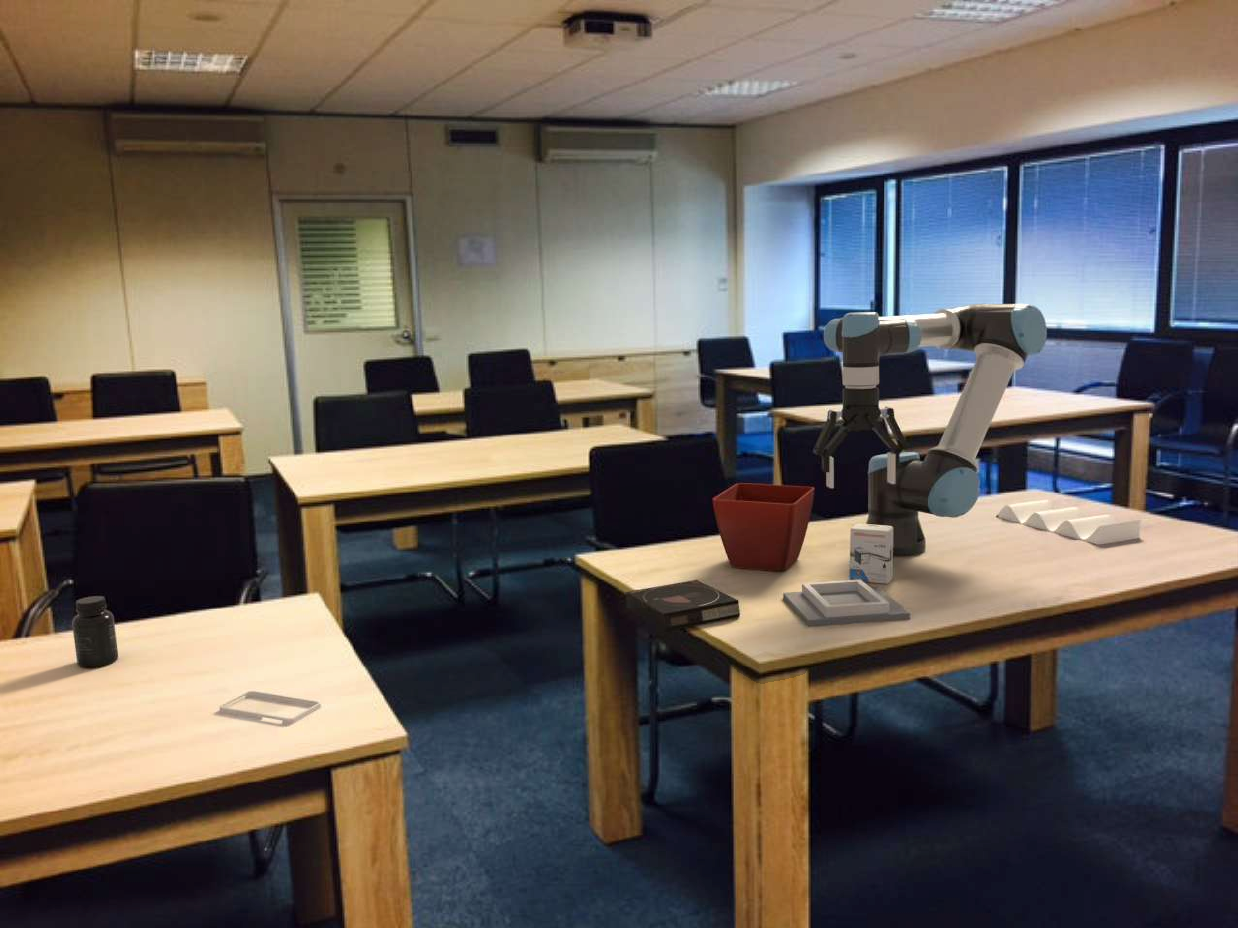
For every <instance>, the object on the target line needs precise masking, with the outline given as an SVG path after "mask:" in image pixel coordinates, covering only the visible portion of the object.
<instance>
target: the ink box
mask: <svg viewBox="0 0 1238 928" xmlns="http://www.w3.org/2000/svg"><path fill="white" fill-rule="evenodd" d="M849 538H850V539H849V541H850V542H849V543H850V545H849V546H850V547H849V580H859V579H861V580H862V581H863V582H864V583H874V584H885V585H887V584H890V582H892V580H893V579H894V577H893V573H894V572H893V571H894V570H893V569H894V568H893V567H894V566H893V564H894V563H893V562H894V555H893V527H892V526H885V525H872V524H866V523H855V524H853V525H852V526H851V527H850V537H849Z"/></svg>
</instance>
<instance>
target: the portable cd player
mask: <svg viewBox="0 0 1238 928" xmlns="http://www.w3.org/2000/svg"><path fill="white" fill-rule="evenodd" d="M625 593H626V595H625V596H626V597H625V598H626V599H625V600H626V609H627V610H628V611H630V612H632V613H633V614H635V615H637V616H638V617H640V618H642V619H643V620H644V621H646V622H648V623H649V624H651V625H653V626H654V627H655V628H658V629H659V630H661V631H663V632H664V633H666V632H672V631H677V630H682V629H688V628H692V627H698V626H703V625H708V624H713V623H718V622H724V621H729V620H734V619H739V618H740V615H741V610H740V606H739V604H740V603H739V599H737V598H735V597H733V596H730V595H729V594H727V593H725V592H723V591H720V589H719V590H718V589H716V588H715V587H713V586H710V585H709V584H706V583H705V582H702V581H700V580H698V579H693V580H687V581H683V582H675V583H670V584H664V585H658V586H653V587H647V588H640V589H636V590H635V589H634V590H628V591H626V592H625Z"/></svg>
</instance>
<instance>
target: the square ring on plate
mask: <svg viewBox="0 0 1238 928" xmlns="http://www.w3.org/2000/svg"><path fill="white" fill-rule="evenodd" d="M782 598H783V600H784V601H785V602H786V603H787V604H788V605H789V607H790V608H791V609H792V610H793V612H794V613H796V614H797V615H798V617H799V618H800V619H801V620H802V621H803V622H804V623H805V625H806V626H808V627H817V626H830V625H845V624H857V623H858V624H860V623H872V622H874V623H875V622H885V621H901V620H902V621H903V620H910V619H911V613H910V612H909V611H908V610H907V609H906V608H905V607H903V606H902V605H900V603H898V602H897V601H895V600H894V598H892V597H891V596H889V595H888V594H887V593H886V592H884V591H883V590H882V589H880V587H878V586H877V585H876V586H869V585H868V584H867V582H863V581H862V580H861V579H859V580H850V579H847V580H831V581H817V582H814V581H813V582H803V583H801V591H793V592H792V591H790V592H789V591H788V592H787V591H786V592H783V593H782Z"/></svg>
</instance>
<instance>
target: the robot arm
mask: <svg viewBox="0 0 1238 928" xmlns="http://www.w3.org/2000/svg"><path fill="white" fill-rule="evenodd" d="M1047 330H1048V329H1047V323H1046V320H1045V317H1044V315H1043V313H1042V311H1041V310H1040V309H1039V308H1038V307H1037V306H1036V305H1033V304H1027V303H1020V302H1015V303H977V304H970V305H963V306H959V307H953V308H942V309H939V310H937V311H935V312H934V313H928V314H926V313H925V314H924V313H923V314H910V315H892V316H889V315H888V316H880V314H879V313H878V312H875V311H871V312H870V311H864V312H861V311H859V312H848V313H846V314H844V316H843V317H841V318H834V319H832V320H829V322H827V324H826V325H825V327H824V330H823V342H824V344H825V347H826V348H828V349H829V350H830V351H832V352H839V353H842V385H843V386H845V387H843V389H842V409H841V411H835V410H832V409H829V410H828V411H827V416H826V417H827V418H826V421H825V424H824V426H823V428H822V429H821V432H820V434H819V436H818V438H817V441H816V443H815V445H814V447H813V450H812V452H813V453H814V454H815V455H817V456H820V457H821V470H822V472H824V473H825V475H826V476H825V477H826V480H825V481H826V483H825V485H826V487H827V488H829V489H834V487H835V486H834V485H835V482H834V481H835V476H834V475H835V474H834V473H835V471H834V470H835V467H834V462H835V461H834V460H835V459H834V457H832V454H833V453H834V452H835V450H836V449H837V448H838V447H839V446H840V444H841V443H842V441H843V440H845V438H846V436H847V435H848V434H850V432H852V431H854V432H855V431H856V432H857V431H858V432H860V431H861V430H862V431H870V430H873V431H874V433H876V435H877V436H878V437H879V438H880V439H881V441H882V442H883V443H884V444H885V445H886V446H887V447H888V448H889V450H890V451H888V452H887V453H884V454H879V455H874V456H872V457H871V458H870V460H869V462H868V472H867V487H868V488H867V492H868V493H867V494H868V495H867V497H868V500H867V501H868V503H867V505H868V506H867V507H868V509H867V511H868V512H867V513H868V515H867V518H866V522H865V524H872V525H885V526H892V527H893V557H894V556H900V557H901V556H911V555H916V554H920V553H923V552H925V551H926V537H925V535H924V531H923V527H922V525H921V522H920V519H919V513H923V514H924V513H925V514H929V515H934V516H936V517H940V518H951V519H952V518H953V519H954V518H959V517H961V516H964V515H965V514H968V512H969V511H971V510H972V508H973V507H974V506H975V504H976V503H977V501H978V498H979V496H980V492H981V487H980V485H981V480H980V477H979V475H978V474H977V472H978V471H979V470H978V466H977V464H976V461H975V459H976V457H977V455H978V453H979V451H980V448H981V446H982V444H983V442H984V439H985V437H986V434H987V432H988V430H989V427H990V426H991V423H992V421H993V419H994V417H995V414H996V412H997V409H998V408H999V405H1000V404H1001V403H1000V402H1001V400H1002V399H1003V396H1004V393H1005V391H1006V389H1007V386H1008V385H1009V382H1010V380H1011V378H1012V375H1013V373H1014V372H1016V371H1017V370H1021V369H1022V368H1023V366H1024V365H1025V363H1026V360H1027V358H1028V357H1029V356H1030V357H1031V356H1036V355H1037V354H1040V353H1041V352H1042V350H1043V349H1044V347H1045V345H1046V342H1047V337H1048V331H1047ZM921 347H922V348H923V347H936V348H938V349H940V350H959V351H960V350H961V351H967V352H974V353H975V355H976V361H975V363H974V364H973V366H972V367H973V368H972V370H971V371H970V373H969V376H968V379H967V381H966V383H965V386H964V387H963V389H962V392H961V394H960V396H959V399H958V401H957V402H956V403H957V404H956V406H955V407H954V410H953V412H952V415H951V416H950V418H949V421H948V423H947V425H946V428H945V429H944V432H943V435H942V436H941V438H940V440H939V443H938V445H937V446H934V447H931V448H929V449H928V451H927V453H926V456H925V457H924V460H922V461H921V458H920V454H919V453H918V452H914V451H908V449H909V444H908V443H907V440H906V438H905V436H904V435H903V432H902V431H901V428H900V426H899V424H898V422H897V420H896V418H895V410H894V408H893V407H889V406H885V407H883V408H880V406H879V404H880V388H879V387H878V386H877V385H879V384H880V357H882V356H892V355H905V354H909V353H913V352H914V351H916V350H917V349H918V348H921ZM881 416H882V418H883V419H885V421H886V424H887V426H888V427H889V430H890V432H891V433H892V436H893V437H894V439H895V441H896V443H897V444H896V443H895V441H894V440H893V438H891V436H890V435H889V434H888V433H887V432H886V431H885V429H884V428H883V427H882V426H881V424H880V423H879V422H878V420H879V419H880V417H881ZM840 418H841V420H843V423H841V425H840V426H839V428H838V430H837V431H836V433H835V434H834V435H833V437H832V438H831V439H830V437H831V435H832V432H833V430H834V428H835V427H836V423H837V422H838V421H839V419H840ZM829 439H830V440H829ZM906 450H907V451H906ZM903 451H904V452H903ZM905 451H906V452H905Z"/></svg>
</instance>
